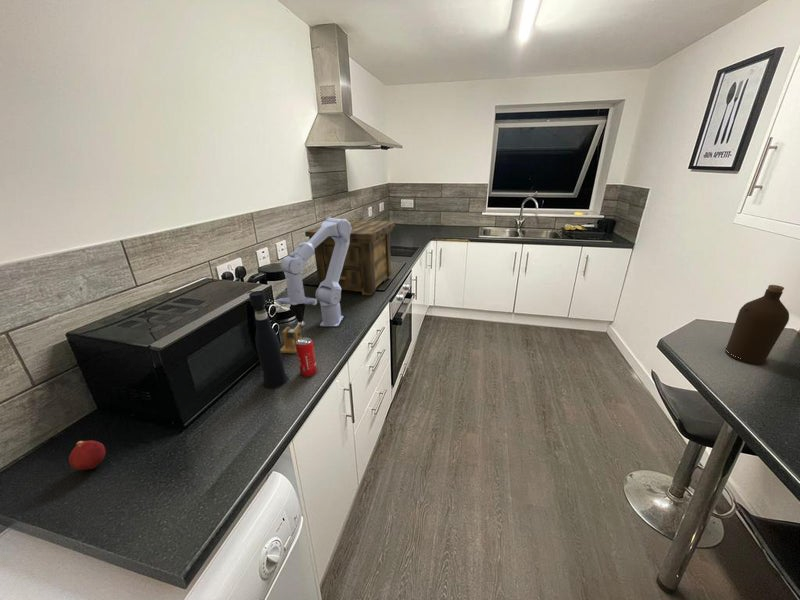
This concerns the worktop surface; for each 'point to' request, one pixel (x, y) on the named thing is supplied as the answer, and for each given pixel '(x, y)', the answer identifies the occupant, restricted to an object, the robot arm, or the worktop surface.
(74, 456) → the onion
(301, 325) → the tap lever
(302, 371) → the beverage can
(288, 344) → the bracket
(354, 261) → the crate
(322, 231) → the robot arm
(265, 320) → the black bottle
